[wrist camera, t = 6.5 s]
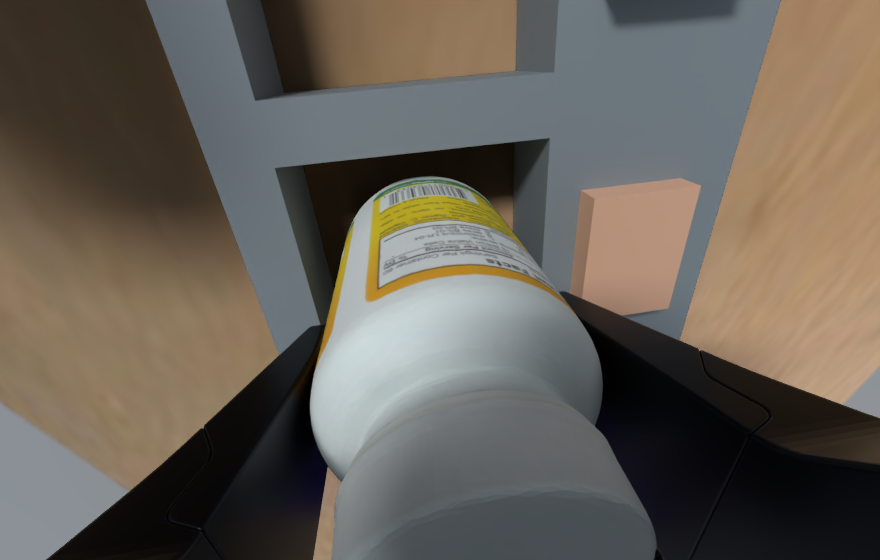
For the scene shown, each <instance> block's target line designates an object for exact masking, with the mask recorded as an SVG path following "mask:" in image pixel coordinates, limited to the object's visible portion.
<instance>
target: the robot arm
mask: <svg viewBox="0 0 880 560" xmlns="http://www.w3.org/2000/svg"><path fill="white" fill-rule="evenodd" d="M559 293H560V294H561V296H562V297H563V298H564V299H565V301H566V302H567V303H568V305H569V306H570V307H571V309H572V310H573V311H574V313H575V314H576V315H577V317H578V318H579V320H580V321H581V323H582V324H583V326H584V327H585V329H586V331H587V332H588V334H589V336H590V338H591V339H592V341H593V344H594V346H595V349H596V351H597V354H598V357H599V361H600V365H601V371H602V380H603V391H602V402H601V408H600V412H599V416H598V419H597V421H596V424H595V427H596V428H597V429H598V430H599V431H600V432H601V433H602V434H603V435H604V437H605V438H606V439H607V441H608V443H609V445H610V447H611V449H612V451H613V453H614V455H615V457H616V459H617V461H618V463H619V465H620V466H621V468H622V470H623V472H624V473H625V475H626V477H627V479H628V480H629V482H630V484H631V486H632V487H633V489H634V491H635V492H636V494H637V496H638V498H639V500H640V501H641V503H642V505H643V507H644V508H645V510H646V512H647V514H648V516H649V518H650V520H651V523H652V525H653V529H654V532H655V535H656V543H657V545H656V546H657V548H658V550H656V552H655V557H654V560H880V418H877V417H874V416H872V415H869V414H866V413H863V412H860V411H858V410H855V409H852V408H849V407H847V406H844V405H841V404H839V403H836V402H833V401H831V400H828V399H825V398H822V397H820V396H817V395H814V394H812V393H809V392H806V391H803V390H801V389H798V388H795V387H793V386H790V385H787V384H784V383H782V382H779V381H776V380H774V379H771V378H769V377H766V376H763V375H761V374H758V373H755V372H753V371H750V370H748V369H745V368H743V367H740V366H738V365H736V364H733V363H731V362H728V361H726V360H723V359H721V358H719V357H716V356H714V355H712V354H710V353H707V352H705V351H699V349H698V348H695V347H693V346H691V345H689V344H686V343H684V342H682V341H679V340H677V339H675V338H672V337H670V336H668V335H665V334H663V333H661V332H658V331H656V330H654V329H651V328H649V327H647V326H644V325H642V324H640V323H638V322H635V321H633V320H631V319H628V318H626V317H624V316H621V315H619V314H617V313H614V312H612V311H610V310H607V309H605V308H603V307H600V306H598V305H596V304H593V303H591V302H589V301H586V300H584V299H582V298H580V297H577V296H575V295H573V294H570V293H568V292H565V291H560V292H559ZM325 327H326V324H323V325H316V326H311V327H309V328H308V329H307V330H306V331H305V332H303V333H302V334H301V335H300V336H299V337H298V338H297V339H296V340H295V341H294V342H293V343H292V344H291V345H290V346H289V347H287V348H286V349H285V350H284V351H283V352H282V353H281V354H280V355H279V356H278V357H277V358H276V359H275V360H274V361H273V362H271V363H270V364H269V365H268V366H267V367H266V368H265V369H264V370H263V371H262V372H261V373H260V374H259V375H258V376H256V377H255V378H254V379H253V380H252V381H251V382H250V383H249V384H248V385H247V386H246V387H245V388H244V389H243V390H242V391H240V392H239V393H238V394H237V395H236V396H235V397H234V398H233V399H232V400H231V401H230V402H229V403H228V404H227V405H226V406H224V407H223V408H222V409H221V410H220V411H219V412H218V413H217V414H216V415H215V416H214V417H213V418H212V419H211V420H209V421H208V422H207V423H206V424H205V425H204V429H203V428H201V429H200V430H199V431H198V432H196V433H195V434H194V435H193V436H192V437H191V438H190V439H189V440H188V441H187V442H186V443H185V444H184V445H182V446H181V447H180V448H179V449H178V450H177V451H176V452H175V453H174V454H172V455H171V456H170V457H169V458H168V459H167V460H166V461H165V462H164V463H163V464H161V465H160V466H159V467H158V468H157V469H156V470H154V471H153V472H152V473H151V474H150V475H148V476H147V477H146V478H145V479H144V480H143V481H141V482H140V483H139V484H138V485H137V486H135V487H134V488H133V489H132V490H131V491H129V492H128V493H127V494H126V495H125V496H123V497H122V498H121V499H120V500H119V501H117V502H116V503H115V504H114V505H113V506H111V507H110V508H109V509H108V510H106V511H105V512H104V513H103V514H101V515H100V516H99V517H98V518H97V519H95V520H94V521H93V522H92V523H90V524H89V525H88V526H87V527H86V528H84V529H83V530H82V531H81V532H80V533H78V534H77V535H76V536H75V537H74V538H72V539H71V540H70V541H69V542H67V543H66V544H65V545H64V546H63V547H61V548H60V549H59V550H58V551H56V552H55V553H54V554H53V555H52V556H50V557H49V558H48V559H46V560H313V555H314V549H315V543H316V536H317V530H318V524H319V517H320V511H321V505H322V498H323V492H324V486H325V479H326V473H327V467H328V465H327V464H326V462H325V460H324V458H323V457H322V455H321V453H320V451H319V449H318V446H317V444H316V441H315V438H314V434H313V430H312V425H311V417H310V398H311V389H312V383H313V378H314V372H315V368H316V364H317V360H318V356H319V352H320V348H321V343H322V339H323V335H324V331H325Z"/></svg>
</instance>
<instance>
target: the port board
mask: <svg viewBox="0 0 880 560" xmlns="http://www.w3.org/2000/svg"><path fill="white" fill-rule="evenodd" d="M780 2H781V0H517V39H516V71H511V72H501V73H490V74H480V75H469V76H458V77H448V78H437V79H426V80H416V81H405V82H395V83H384V84H373V85H363V86H352V87H342V88H331V89H320V90H310V91H299V92H288V93H284V90H283V86H282V82H281V78H280V74H279V70H278V66H277V62H276V58H275V55H274V51H273V47H272V43H271V39H270V35H269V31H268V27H267V23H266V19H265V15H264V11H263V7H262V3H261V0H146V3H147V5H148V8H149V11H150V13H151V16H152V19H153V21H154V24H155V27H156V29H157V32H158V35H159V37H160V40H161V43H162V45H163V48H164V51H165V53H166V56H167V59H168V61H169V64H170V67H171V69H172V72H173V74H174V77H175V80H176V82H177V85H178V88H179V90H180V93H181V96H182V98H183V101H184V104H185V106H186V109H187V112H188V114H189V117H190V120H191V122H192V125H193V128H194V130H195V133H196V136H197V138H198V141H199V143H200V146H201V149H202V151H203V154H204V157H205V159H206V162H207V165H208V167H209V170H210V173H211V175H212V178H213V181H214V183H215V186H216V189H217V191H218V194H219V197H220V199H221V202H222V205H223V207H224V210H225V212H226V215H227V218H228V220H229V223H230V226H231V228H232V231H233V234H234V236H235V239H236V242H237V244H238V247H239V250H240V252H241V255H242V258H243V260H244V263H245V266H246V268H247V271H248V274H249V276H250V279H251V281H252V284H253V287H254V289H255V292H256V295H257V297H258V300H259V303H260V305H261V308H262V311H263V313H264V316H265V319H266V321H267V324H268V327H269V329H270V332H271V335H272V337H273V340H274V343H275V345H276V348H277V350H278V353H279V355H280V354H281V353H282V352H283V351H284V350H285V349H286V348H287V347H289V346H290V345H291V344H292V343H293V342H294V341H295V340H296V339H297V338H298V337H299V336H300V335H301V334H302V333H303V332H305V331H306V330H307V329H308V328H309V327H311V326H316V325H323V324H326V322H327V318H328V314H329V310H330V306H331V302H332V297H333V293H334V286H333V283H332V279H331V275H330V271H329V267H328V263H327V259H326V255H325V251H324V247H323V243H322V239H321V235H320V231H319V228H318V224H317V220H316V216H315V212H314V208H313V204H312V200H311V196H310V192H309V188H308V184H307V180H306V176H305V172H304V169H303V165H307V164H317V163H326V162H335V161H344V160H353V159H362V158H372V157H381V156H390V155H399V154H408V153H417V152H427V151H436V150H445V149H454V148H463V147H472V146H482V145H491V144H500V143H509V142H515V148H514V202H513V233H514V234H515V236H516V237H517V238H518V239H519V241H520V242H521V243H522V245H523V246H524V247H525V248H526V250H527V251H528V252H529V254H530V255H531V256H532V258H533V259H534V260H535V262H536V263H537V264H538V266H539V267H540V268H541V269H542V271H543V272H544V273H545V275H546V276H547V277H548V279H549V280H550V281H551V283H552V284H553V285H554V286H555V288H556V289H557V290H558V292H560V291H565V292H568V293H570V294H573V295H575V296H577V297H580V298H582V299H584V300H586V301H589V302H591V303H593V304H596V305H598V306H600V307H603V308H605V309H607V310H610V311H612V312H614V313H617V314H619V315H621V316H624V317H626V318H628V319H631V320H633V321H635V322H638V323H640V324H642V325H644V326H647V327H649V328H651V329H654V330H656V331H658V332H661V333H663V334H665V335H668V336H670V337H672V338H675V339H677V340H680V336H681V333H682V330H683V326H684V323H685V320H686V316H687V313H688V310H689V306H690V303H691V299H692V296H693V293H694V289H695V286H696V283H697V279H698V276H699V273H700V269H701V266H702V263H703V259H704V256H705V253H706V249H707V246H708V243H709V239H710V236H711V233H712V229H713V226H714V223H715V219H716V216H717V212H718V209H719V206H720V202H721V199H722V196H723V192H724V189H725V186H726V182H727V179H728V176H729V172H730V169H731V166H732V162H733V159H734V156H735V152H736V149H737V146H738V142H739V139H740V136H741V132H742V129H743V125H744V122H745V119H746V115H747V112H748V109H749V105H750V102H751V99H752V95H753V92H754V89H755V85H756V82H757V79H758V75H759V72H760V69H761V65H762V62H763V59H764V55H765V52H766V49H767V45H768V42H769V38H770V35H771V32H772V28H773V25H774V22H775V18H776V15H777V12H778V8H779V5H780Z"/></svg>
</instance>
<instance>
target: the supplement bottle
mask: <svg viewBox="0 0 880 560" xmlns="http://www.w3.org/2000/svg"><path fill="white" fill-rule="evenodd" d="M602 391H603V380H602V371H601V365H600V361H599V357H598V354H597V351H596V349H595V346H594V344H593V341H592V339H591V338H590V336H589V334H588V332H587V331H586V329H585V327H584V326H583V324H582V323H581V321H580V320H579V318H578V317H577V315H576V314H575V313H574V311H573V310H572V309H571V307H570V306H569V305H568V303H567V302H566V301H565V299H564V298H563V297H562V296H561V294H560V293H559V292H558V290H557V289H556V288H555V286H554V285H553V284H552V283H551V281H550V280H549V279H548V277H547V276H546V275H545V273H544V272H543V271H542V269H541V268H540V267H539V266H538V264H537V263H536V262H535V260H534V259H533V258H532V256H531V255H530V254H529V252H528V251H527V250H526V248H525V247H524V246H523V245H522V243H521V242H520V241H519V239H518V238H517V237H516V236H515V234H514V233H513V232H512V230H511V229H510V228H509V226H508V225H507V224H506V222H505V221H504V220H503V218H502V217H501V215H500V214H499V213H498V212H497V211H496V209H495V208H494V207H493V206H492V204H491V203H490V202H489V201H488V200H487V199H486V198H485V197H484V196H483V195H481V194H480V193H479V192H477V191H476V190H475V189H473V188H471V187H469V186H468V185H466V184H463V183H461V182H459V181H456V180H453V179H449V178H444V177H437V176H420V177H412V178H408V179H403V180H400V181H398V182H395V183H393V184H391V185H389V186H387V187H385V188H383V189H382V190H380V191H379V192H377V193H376V194H375V195H374V196H372V197H371V198H370V199H369V200H368V201H367V202H366V203H365V204H364V205H363V206H362V208H361V209H360V210H359V211H358V213H357V215H356V216H355V218H354V220H353V222H352V224H351V226H350V229H349V231H348V234H347V238H346V241H345V245H344V250H343V253H342V258H341V262H340V267H339V272H338V276H337V280H336V284H335V289H334V293H333V297H332V302H331V306H330V310H329V314H328V318H327V322H326V327H325V331H324V335H323V339H322V343H321V348H320V352H319V356H318V360H317V364H316V368H315V372H314V378H313V383H312V389H311V398H310V417H311V425H312V430H313V434H314V438H315V441H316V444H317V446H318V449H319V451H320V453H321V455H322V457H323V458H324V460H325V462H326V464H327V465H328V467H329V468H330V469H331V470H332V472H333V473H334V474H335V475H336V477H337V478H338V479H339V480H340V481H341V482H342V483H341V485H340V488H339V491H338V493H337V497H336V502H335V515H334V519H335V528H334V539H333V549H332V560H654V557H655V552H656V545H657V543H656V535H655V532H654V529H653V525H652V523H651V520H650V518H649V516H648V514H647V512H646V510H645V508H644V507H643V505H642V503H641V501H640V500H639V498H638V496H637V494H636V492H635V491H634V489H633V487H632V486H631V484H630V482H629V480H628V479H627V477H626V475H625V473H624V472H623V470H622V468H621V466H620V465H619V463H618V461H617V459H616V457H615V455H614V453H613V451H612V449H611V447H610V445H609V443H608V441H607V439H606V438H605V437H604V435H603V434H602V433H601V432H600V431H599V430H598V429H597V428H596V427H595V424H596V421H597V419H598V416H599V412H600V408H601V402H602Z"/></svg>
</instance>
